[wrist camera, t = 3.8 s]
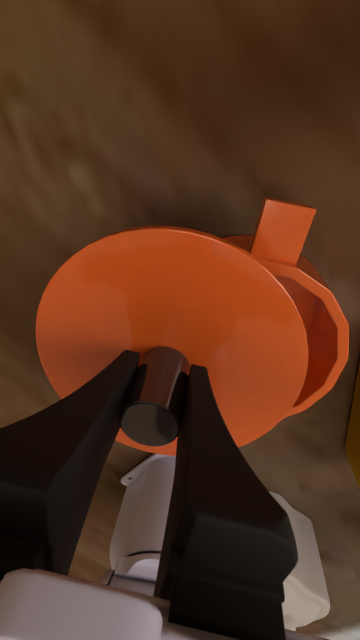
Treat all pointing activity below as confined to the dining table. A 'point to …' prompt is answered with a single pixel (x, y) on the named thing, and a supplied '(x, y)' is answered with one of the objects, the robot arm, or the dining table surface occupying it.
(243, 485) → the robot arm
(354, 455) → the yellow square tin
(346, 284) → the dining table surface
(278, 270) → the pot
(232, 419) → the pot lid
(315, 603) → the lumpy-topped squat cylinder
